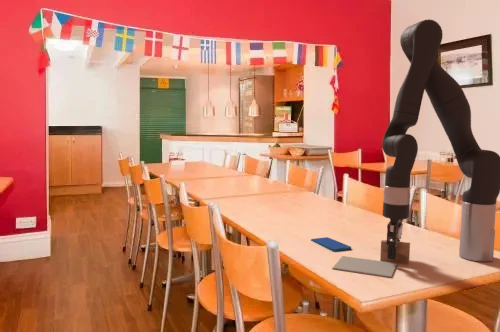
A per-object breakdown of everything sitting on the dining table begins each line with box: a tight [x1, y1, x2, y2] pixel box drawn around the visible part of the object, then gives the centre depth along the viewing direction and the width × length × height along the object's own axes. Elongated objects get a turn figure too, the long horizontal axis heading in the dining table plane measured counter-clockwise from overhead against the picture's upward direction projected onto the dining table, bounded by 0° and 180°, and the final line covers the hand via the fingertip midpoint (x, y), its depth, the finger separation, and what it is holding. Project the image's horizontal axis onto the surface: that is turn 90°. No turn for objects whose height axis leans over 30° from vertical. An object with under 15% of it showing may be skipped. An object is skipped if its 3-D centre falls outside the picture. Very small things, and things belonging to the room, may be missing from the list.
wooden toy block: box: [379, 239, 411, 265], centre depth 134 cm, size 8×2×6 cm, turn 65°
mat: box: [332, 255, 398, 278], centre depth 129 cm, size 16×12×1 cm
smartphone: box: [310, 237, 352, 252], centre depth 151 cm, size 7×1×15 cm
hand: (393, 254), depth 134 cm, fingers open, 8 cm apart
